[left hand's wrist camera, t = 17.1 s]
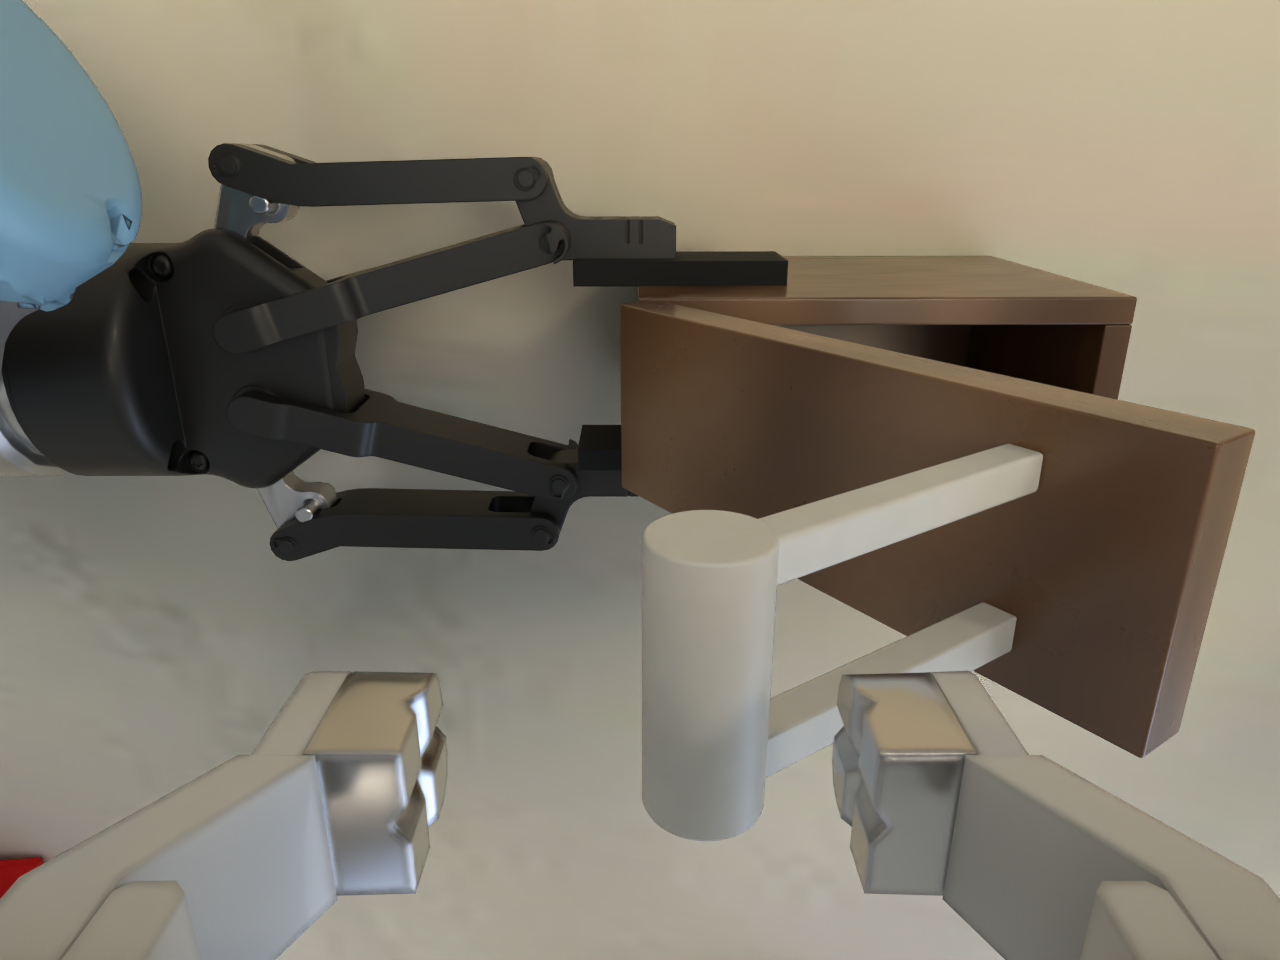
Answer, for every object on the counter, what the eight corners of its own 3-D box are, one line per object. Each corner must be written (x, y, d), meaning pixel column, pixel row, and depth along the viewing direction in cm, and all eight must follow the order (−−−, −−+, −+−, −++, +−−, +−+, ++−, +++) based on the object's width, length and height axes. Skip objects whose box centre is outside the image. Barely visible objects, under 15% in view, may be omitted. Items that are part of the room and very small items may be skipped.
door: (1257, 428, 13) (833, 593, 8) (1179, 732, 14) (797, 1012, 10) (656, 299, 24) (335, 335, 19) (655, 478, 26) (362, 551, 21)
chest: (991, 255, 34) (1138, 297, 24) (974, 385, 36) (1103, 474, 26) (637, 256, 34) (638, 297, 24) (637, 386, 36) (638, 475, 26)
